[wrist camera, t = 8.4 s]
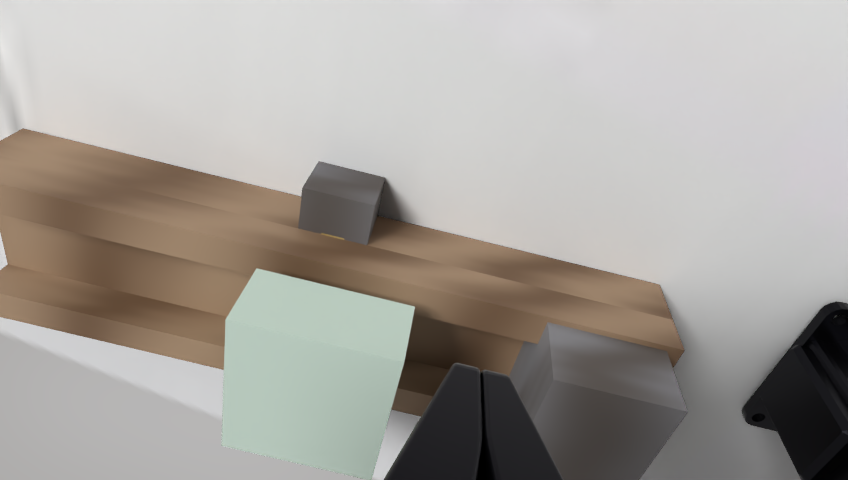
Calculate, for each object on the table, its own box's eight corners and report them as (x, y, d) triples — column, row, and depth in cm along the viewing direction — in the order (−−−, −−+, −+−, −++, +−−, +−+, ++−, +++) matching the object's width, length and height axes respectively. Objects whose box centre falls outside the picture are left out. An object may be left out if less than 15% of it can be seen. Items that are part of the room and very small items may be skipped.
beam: (678, 250, 21) (736, 373, 16) (585, 415, 26) (605, 548, 21) (15, 86, 20) (-147, 159, 15) (52, 288, 25) (-60, 393, 20)
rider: (422, 269, 20) (404, 362, 16) (392, 380, 23) (371, 480, 19) (277, 233, 19) (225, 319, 16) (267, 351, 22) (221, 445, 19)
